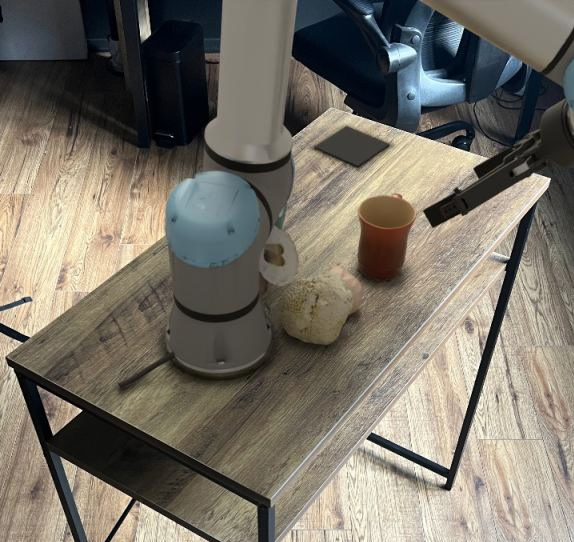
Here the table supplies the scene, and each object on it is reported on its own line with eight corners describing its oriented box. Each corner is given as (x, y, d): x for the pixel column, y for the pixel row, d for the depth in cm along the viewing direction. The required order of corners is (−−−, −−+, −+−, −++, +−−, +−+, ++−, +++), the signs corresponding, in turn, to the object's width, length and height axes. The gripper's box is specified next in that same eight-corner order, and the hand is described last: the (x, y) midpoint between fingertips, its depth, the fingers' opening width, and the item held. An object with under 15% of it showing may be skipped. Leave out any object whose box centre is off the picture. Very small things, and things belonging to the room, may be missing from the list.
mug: (399, 292, 127) (408, 234, 118) (345, 279, 128) (350, 221, 120) (417, 248, 134) (427, 191, 125) (366, 237, 135) (372, 179, 127)
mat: (357, 167, 148) (357, 165, 148) (314, 148, 152) (314, 146, 152) (389, 145, 153) (389, 143, 153) (346, 127, 157) (346, 125, 156)
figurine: (316, 240, 122) (235, 244, 130) (285, 197, 114) (201, 205, 122) (295, 304, 120) (215, 304, 128) (262, 265, 112) (178, 268, 120)
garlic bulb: (317, 319, 123) (340, 289, 128) (355, 325, 121) (378, 294, 125) (309, 281, 119) (334, 251, 123) (349, 286, 116) (372, 255, 120)
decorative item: (285, 362, 122) (255, 300, 119) (326, 338, 126) (298, 277, 123) (334, 349, 112) (303, 280, 109) (376, 322, 116) (347, 256, 113)
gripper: (551, 199, 93) (420, 262, 110) (640, 112, 105) (509, 182, 122) (520, 138, 90) (392, 212, 108) (615, 57, 102) (485, 136, 120)
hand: (454, 196), depth 115 cm, fingers open, 13 cm apart
